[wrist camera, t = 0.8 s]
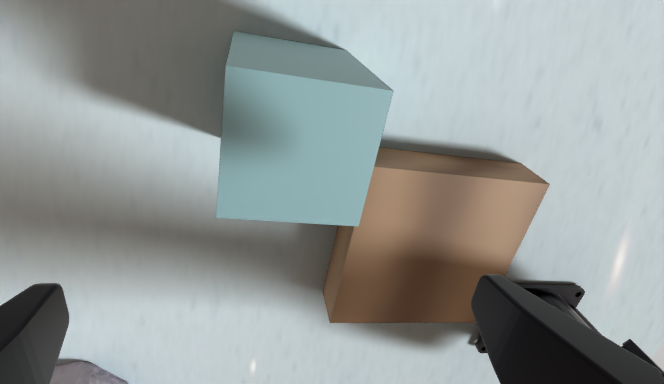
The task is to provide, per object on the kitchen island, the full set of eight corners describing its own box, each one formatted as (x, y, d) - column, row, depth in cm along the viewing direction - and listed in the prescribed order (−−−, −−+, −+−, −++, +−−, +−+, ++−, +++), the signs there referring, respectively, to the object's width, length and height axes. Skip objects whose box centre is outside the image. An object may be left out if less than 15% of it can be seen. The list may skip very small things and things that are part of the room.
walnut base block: (517, 160, 23) (549, 184, 21) (460, 289, 28) (481, 322, 25) (355, 141, 21) (369, 166, 18) (321, 286, 26) (329, 322, 23)
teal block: (346, 50, 18) (393, 90, 12) (326, 150, 21) (358, 226, 15) (234, 30, 17) (225, 65, 11) (226, 139, 19) (216, 217, 13)
